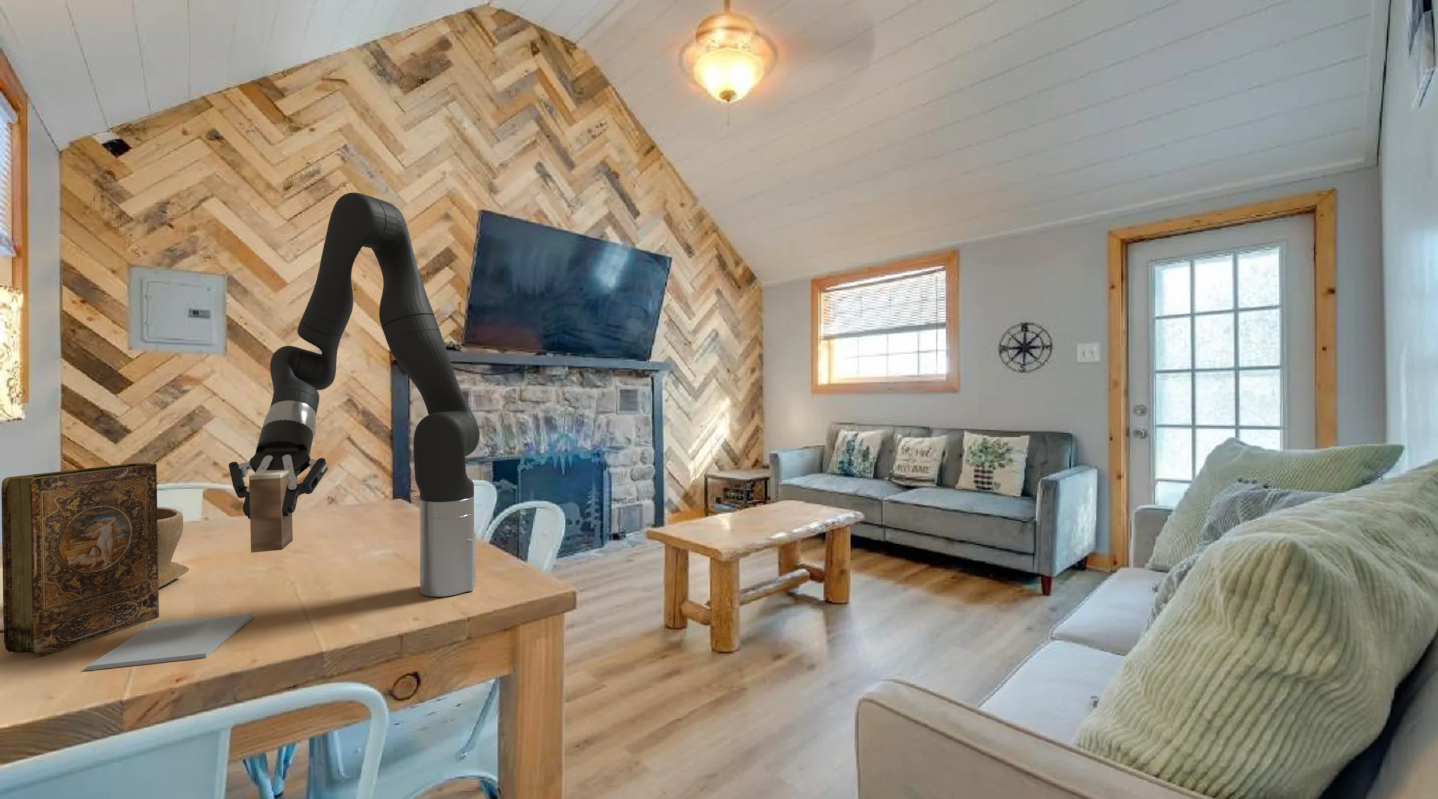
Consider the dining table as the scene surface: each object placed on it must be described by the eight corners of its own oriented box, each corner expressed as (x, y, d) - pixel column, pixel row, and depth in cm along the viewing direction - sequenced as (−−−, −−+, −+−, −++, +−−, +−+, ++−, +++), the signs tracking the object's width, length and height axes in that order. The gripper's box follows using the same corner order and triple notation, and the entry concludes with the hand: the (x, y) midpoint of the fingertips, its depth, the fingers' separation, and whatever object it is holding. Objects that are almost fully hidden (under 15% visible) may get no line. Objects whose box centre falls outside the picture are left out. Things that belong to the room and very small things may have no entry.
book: (140, 611, 99) (137, 462, 98) (166, 614, 98) (163, 463, 97) (3, 655, 83) (-1, 477, 82) (33, 659, 82) (29, 479, 81)
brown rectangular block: (292, 540, 99) (291, 469, 99) (282, 549, 93) (280, 474, 93) (263, 543, 97) (261, 470, 97) (251, 552, 92) (249, 475, 92)
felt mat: (253, 617, 97) (253, 613, 97) (206, 657, 83) (205, 653, 83) (154, 626, 93) (154, 622, 93) (87, 670, 79) (86, 666, 79)
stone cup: (156, 601, 104) (154, 516, 103) (74, 606, 101) (72, 518, 101) (210, 573, 119) (209, 499, 118) (139, 577, 116) (138, 501, 116)
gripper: (232, 419, 99) (203, 505, 88) (332, 417, 104) (316, 497, 94) (244, 447, 104) (218, 532, 93) (338, 444, 110) (325, 523, 99)
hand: (268, 514), depth 93 cm, fingers closed on brown rectangular block, 4 cm apart
